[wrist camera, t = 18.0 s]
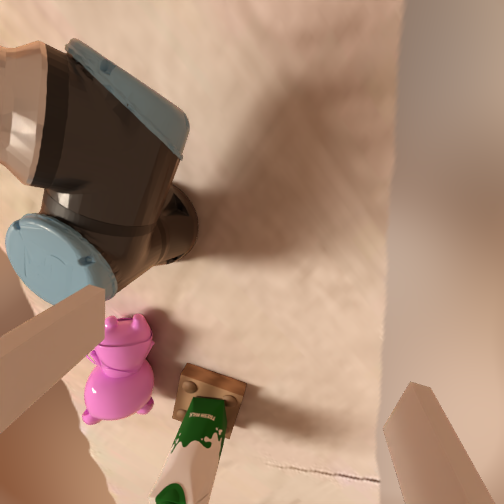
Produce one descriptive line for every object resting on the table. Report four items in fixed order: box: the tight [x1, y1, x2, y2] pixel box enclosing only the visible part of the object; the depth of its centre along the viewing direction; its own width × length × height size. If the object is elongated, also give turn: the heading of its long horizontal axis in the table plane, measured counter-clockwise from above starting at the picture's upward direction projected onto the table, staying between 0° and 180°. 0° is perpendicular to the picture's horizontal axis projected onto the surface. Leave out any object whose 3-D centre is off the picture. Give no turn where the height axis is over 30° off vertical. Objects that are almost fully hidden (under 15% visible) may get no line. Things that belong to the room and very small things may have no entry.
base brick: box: [172, 363, 247, 439], centre depth 59 cm, size 14×14×4 cm
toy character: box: [82, 314, 155, 425], centre depth 55 cm, size 16×13×25 cm
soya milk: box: [148, 397, 227, 504], centre depth 48 cm, size 9×9×20 cm
